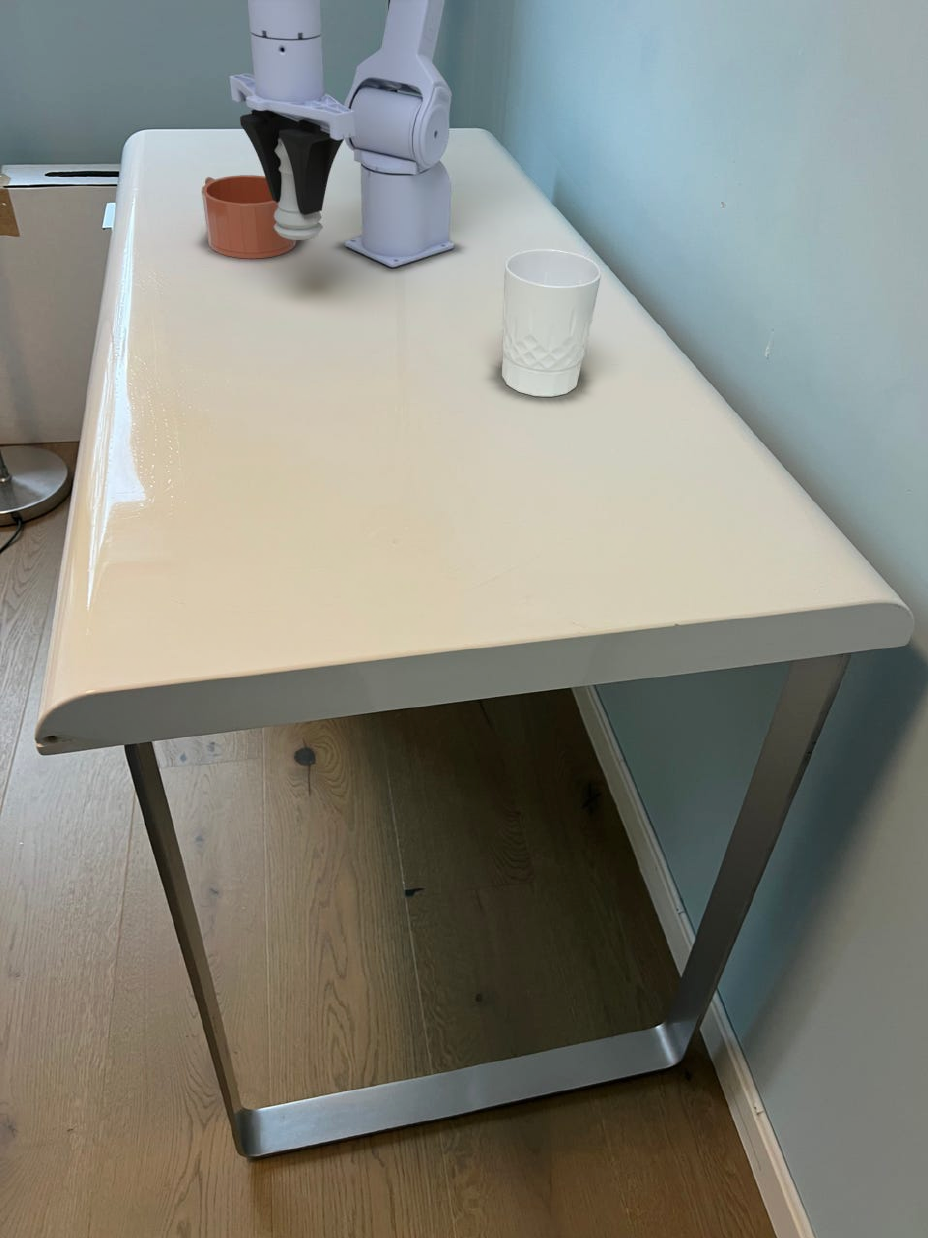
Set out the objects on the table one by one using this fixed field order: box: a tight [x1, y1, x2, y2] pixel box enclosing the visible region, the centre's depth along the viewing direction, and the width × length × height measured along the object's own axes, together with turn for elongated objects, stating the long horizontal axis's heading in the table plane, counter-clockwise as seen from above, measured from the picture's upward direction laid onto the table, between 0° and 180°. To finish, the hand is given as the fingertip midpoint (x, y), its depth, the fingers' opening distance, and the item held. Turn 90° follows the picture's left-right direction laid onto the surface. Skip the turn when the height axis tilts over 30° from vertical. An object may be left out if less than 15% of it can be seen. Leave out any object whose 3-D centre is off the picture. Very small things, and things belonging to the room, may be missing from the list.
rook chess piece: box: [274, 138, 323, 241], centre depth 84 cm, size 4×4×8 cm
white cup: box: [501, 248, 602, 398], centre depth 80 cm, size 8×8×10 cm
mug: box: [201, 174, 297, 260], centre depth 102 cm, size 12×9×6 cm
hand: (297, 205), depth 86 cm, fingers closed on rook chess piece, 3 cm apart
